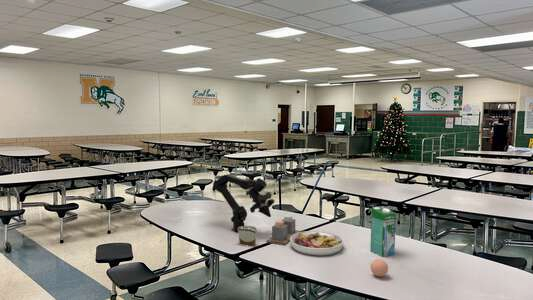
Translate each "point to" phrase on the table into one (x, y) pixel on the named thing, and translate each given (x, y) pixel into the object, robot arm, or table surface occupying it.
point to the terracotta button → (279, 223)
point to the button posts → (283, 230)
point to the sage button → (287, 218)
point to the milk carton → (382, 231)
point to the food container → (247, 235)
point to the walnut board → (282, 241)
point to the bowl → (316, 242)
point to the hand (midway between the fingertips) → (270, 216)
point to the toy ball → (379, 268)
